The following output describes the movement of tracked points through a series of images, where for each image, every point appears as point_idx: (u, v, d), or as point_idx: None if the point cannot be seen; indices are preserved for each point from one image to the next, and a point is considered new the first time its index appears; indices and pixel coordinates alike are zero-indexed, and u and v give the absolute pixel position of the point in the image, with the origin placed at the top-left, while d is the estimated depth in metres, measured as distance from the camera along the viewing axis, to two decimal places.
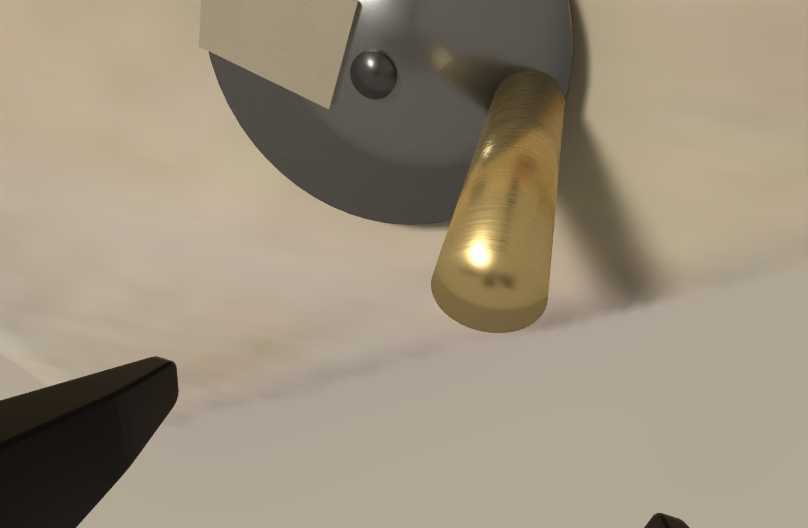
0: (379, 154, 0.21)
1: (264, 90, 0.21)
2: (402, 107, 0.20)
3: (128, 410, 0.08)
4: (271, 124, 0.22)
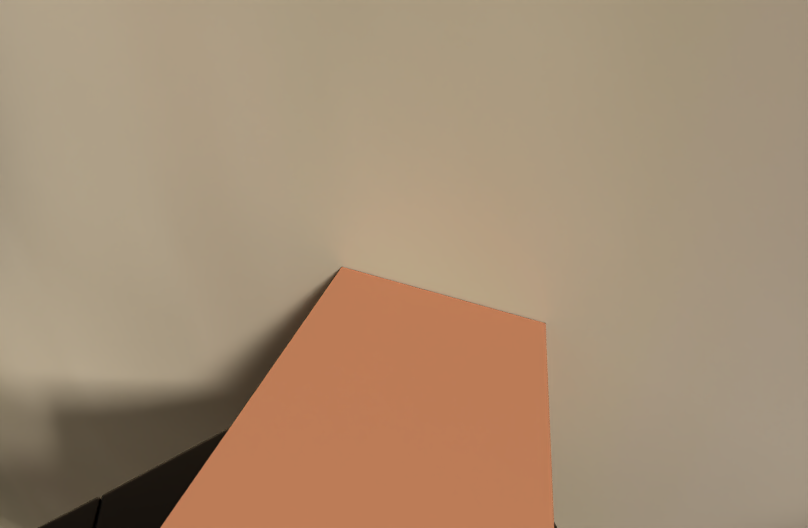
0: None
1: None
2: None
3: None
4: None
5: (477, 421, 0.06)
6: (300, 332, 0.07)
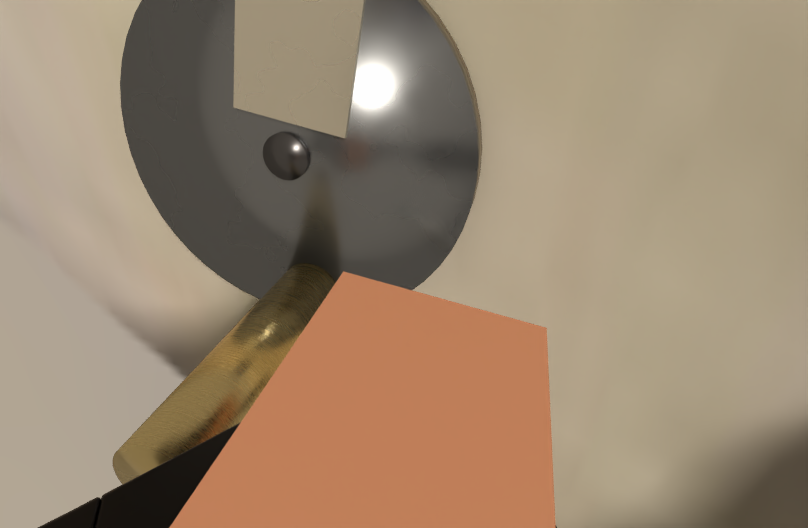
0: (211, 164, 0.20)
1: (220, 16, 0.17)
2: (267, 185, 0.20)
3: None
4: (182, 24, 0.17)
5: (479, 427, 0.06)
6: (302, 338, 0.07)
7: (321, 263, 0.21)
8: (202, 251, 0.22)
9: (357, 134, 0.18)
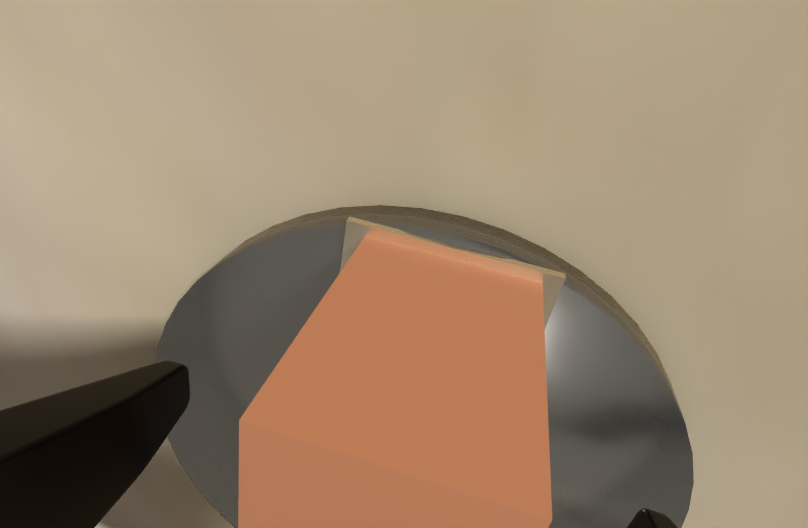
0: None
1: (307, 319, 0.12)
2: None
3: (141, 414, 0.08)
4: (250, 321, 0.12)
5: (485, 353, 0.07)
6: (335, 284, 0.08)
7: None
8: None
9: None
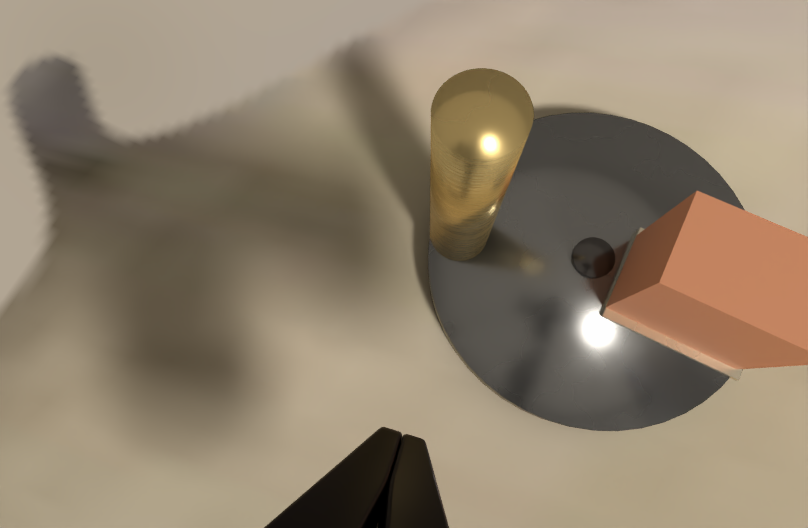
0: (592, 185, 0.22)
1: None
2: (567, 229, 0.22)
3: (385, 493, 0.08)
4: None
5: None
6: None
7: (485, 253, 0.22)
8: None
9: (602, 326, 0.21)
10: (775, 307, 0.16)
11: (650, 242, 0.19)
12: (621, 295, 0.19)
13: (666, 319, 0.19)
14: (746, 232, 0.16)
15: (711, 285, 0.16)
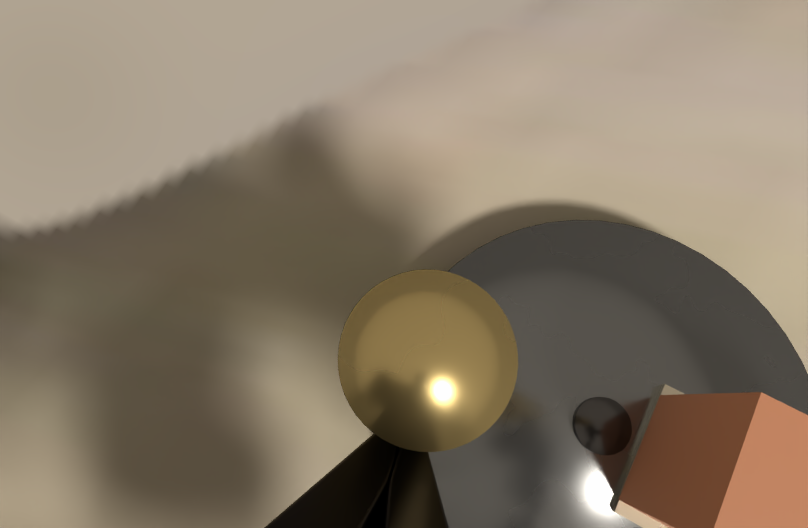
0: (601, 320, 0.17)
1: None
2: (568, 382, 0.17)
3: (385, 493, 0.08)
4: (752, 361, 0.17)
5: None
6: None
7: None
8: (495, 253, 0.18)
9: (613, 525, 0.15)
10: None
11: (684, 432, 0.14)
12: (642, 500, 0.14)
13: None
14: None
15: None
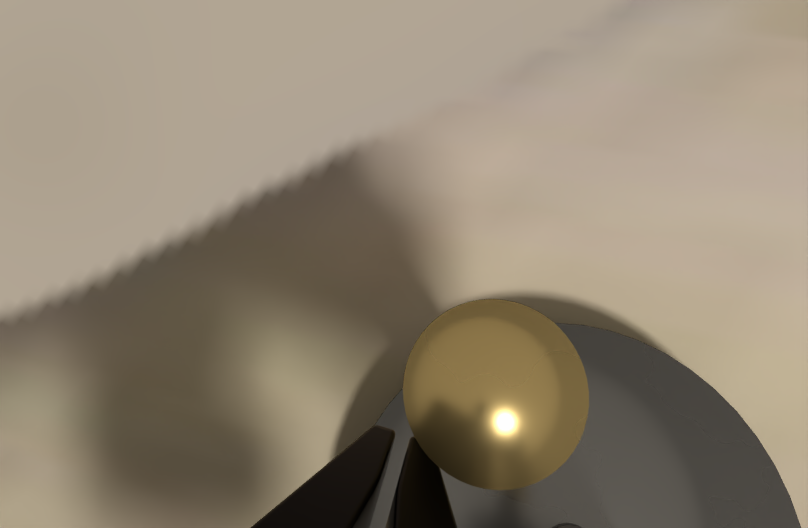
0: (643, 472, 0.16)
1: None
2: (571, 497, 0.16)
3: (377, 491, 0.08)
4: None
5: None
6: None
7: None
8: (595, 341, 0.17)
9: None
10: None
11: None
12: None
13: None
14: None
15: None
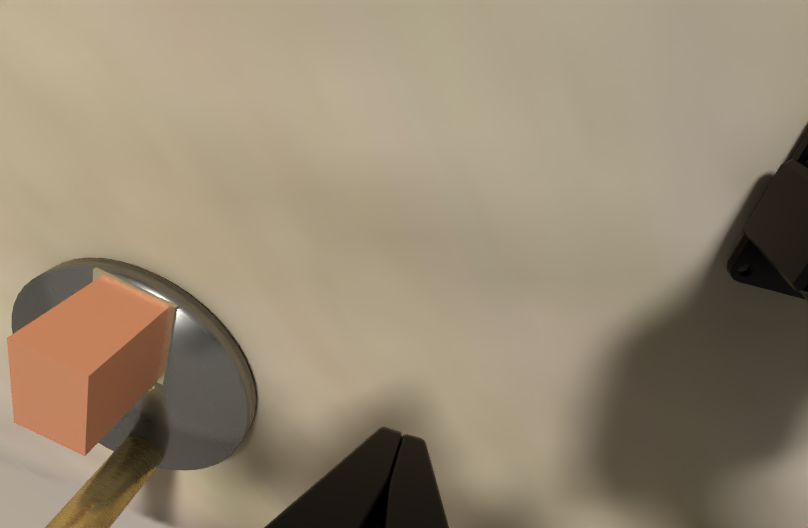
0: None
1: None
2: None
3: (384, 494, 0.08)
4: (57, 300, 0.26)
5: (111, 330, 0.22)
6: (69, 297, 0.22)
7: (150, 439, 0.30)
8: None
9: (171, 383, 0.27)
10: (67, 399, 0.21)
11: None
12: None
13: (133, 386, 0.24)
14: (26, 402, 0.22)
15: (72, 430, 0.22)
